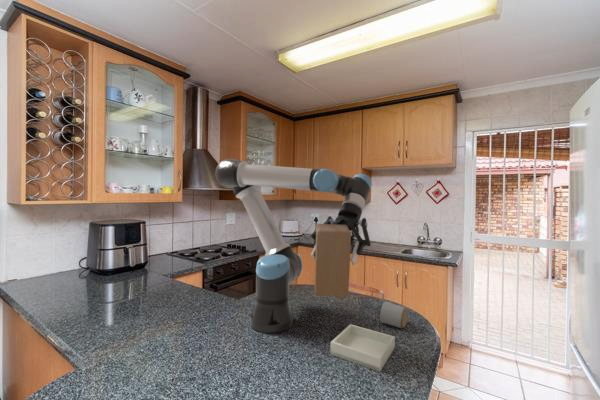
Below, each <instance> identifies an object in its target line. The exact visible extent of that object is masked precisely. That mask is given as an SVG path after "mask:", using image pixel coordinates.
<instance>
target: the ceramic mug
mask: <svg viewBox="0 0 600 400" xmlns="http://www.w3.org/2000/svg"><path fill="white" fill-rule="evenodd" d="M408 312H409V311H408V309H407V308H405V307H404V306H402V305H398V304H395V303H392V302H390V301H383V303H382V306H381V308H380V314H379V315H380V316H379V317H380V322H381V323H383V324H385V325H388V326H392V327H396V328H399V329H403V328H405V327H406V325H407V323H408V316H409V313H408Z"/></svg>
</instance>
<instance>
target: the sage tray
mask: <svg viewBox="0 0 600 400" xmlns="http://www.w3.org/2000/svg"><path fill="white" fill-rule="evenodd" d="M395 342H396V336H393V335H389V334H387V333H384V332H379V331H376V330H374V329H373V330H372V329H369V328H365V327H361V326H358V325H355V324H352V323H350V324H349V325H348V326H346V328H344V329H343V330H342V331H341V332H340V333H339V334H338V335H337V336H335V338H333V339H332V340H331V341H330V343H329V344H330V346H329V348H330V349H329V351H330V352H329V354H330V355H332V356H335V357H337V358H340V359H343V360H346V361H349V362H351V363H354V364H357V365H358V366H362V367H365V368H368V369H371V370H374V371H376V372H381V371H382V369H383V368H384V366H385V364H386V363H387V361H388V359H389V358H390V356H391V354H393V351H394V350H395V347H396V343H395Z"/></svg>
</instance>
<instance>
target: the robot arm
mask: <svg viewBox="0 0 600 400" xmlns="http://www.w3.org/2000/svg"><path fill="white" fill-rule="evenodd" d="M214 173H215V175H214V176H215V179H216V181H217V183H218V184H219V185H220V186H222V187H224V188H226V189H232V191H233V193H234V196H235V198H236V199H240V200H241V202H242V204H243V207H244V209H245V210H246V212H247V215H248V217H249V219H250V221H251V223H252V225H253V228H254V229H255V232H256V234H257V236H258V238H259V240H260V242H261V245H262V247H263V249H264V251H265V253H264V256H262V257H259V258H258V260H257V262H256V268H255V273H256V274H255V302H254V305H253V309H252V311H251V314H250V317H249V325H250V327H251V329H253V330H254V331H257V332H260V333H268V334H274V333H280V332H281V333H282V332H284V331H287V330H289V329H290V328H291V327H292V326H293V322H294V318H293V317H294V315H293V314H292V310H291V306H290V302H289V293H290V285H291V284H292V283H293V282H295V281H296V280H297V279H298V278H299V276H300V275H301V273H302V271H303V261H302V258H301V257H300V255H299V254H298V253H297V252H295V251H294V250H293V248H292V246H291V244H290V243H287V242H285V239H284V238H283V236H282V234H281V231H280V229H279V227H278V225H277V223H276V221H275V219H274V217H273V215H272V213H271V211H270V208H269V206H268V204H267V202H266V200H265V198H264V196H263V194H262V191H261V190H262V187H266V188H267V187H268V188H277V189H278V188H279V189H289V190H300V191H311V192H321V193H331V194H335V195H338V196H341V197H344V199H343V201H342V203H341V206H340V208H339V210H338V214H337V217H335V218H334V217H332V216H330V215H329V216H328V217H327V218H326V221H324V222H323V223H322V224H337V225H347V226H348V228H349V230H350V232H352V234H353V235H354V237H355V239H356V242H355V244H354V247H353V250H352V253H351V254H350V264H351V265H352V266H356V263H357V260H358V258H359V257H358V256H361V255H362V253H363V250H364V248H365V247H367V246H368V247H371V244H372V243H371V239H370V235H369V232H368V221H367V219H366V217H363V218H362V219H361V217H362V214H363V211H364V208H365V205H366V202H367V200H368V197H369V195H370V192H371V188H372V185H373V184H372V180H371V178H370V177H369V176H368V175H366V173H365V174H364V173H358V174H355V175H354V176H353V177H352V176H351V177H350V176H346V175H343V174H339V173H337V172H335V171H334V170H333V169H331V168H321V169H320V168H319V169H318V168H306V167H294V166H293V167H292V166H291V167H290V166H281V165H279V166H278V165H266V164H265V165H263V164H252V163H251V162H248V161H245V160H238V159H234V158H225V159H224V160H222V161H220V162H219V163H218V164H217V166H216V168H215V171H214ZM359 225H360V227H361V229H362V233H363V238H364V239H363V238H362V237H361V235H360V233H359V232H358V230H357V226H359ZM311 237H312V238H313V240H314V241H313V244H312V248H313V249H312V251H311V253H310V255H311V257H312V258H313V260H315V252H316V230H315V231H314V232H313V233H312V234H311Z"/></svg>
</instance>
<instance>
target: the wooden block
mask: <svg viewBox="0 0 600 400" xmlns="http://www.w3.org/2000/svg"><path fill="white" fill-rule="evenodd" d="M315 229H316V230H315V231H316V252H315V259H314V288H313V289H314V294H315V296H317V297H318V296H320V297H337V298H338V297H339V298H340V297H341V298H347V297H348V296H349V286H350V285H349V284H350V268H351V267H350V265H351V261H350V258H351V248H352V247H351V245H352V233H351V231H350V230H349V228H348V226H347V225H337V224H323V223H318V224H317V225H316V228H315Z"/></svg>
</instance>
